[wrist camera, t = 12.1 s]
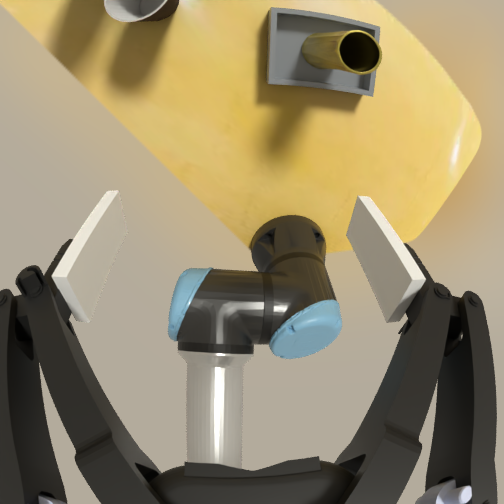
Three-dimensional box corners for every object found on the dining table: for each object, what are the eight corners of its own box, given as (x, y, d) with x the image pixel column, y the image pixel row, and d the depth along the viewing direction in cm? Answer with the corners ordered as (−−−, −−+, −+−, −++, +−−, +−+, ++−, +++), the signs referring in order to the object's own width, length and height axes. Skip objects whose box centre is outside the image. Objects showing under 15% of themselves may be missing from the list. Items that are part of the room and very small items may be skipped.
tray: (363, 92, 37) (372, 96, 34) (266, 81, 36) (268, 84, 33) (370, 27, 29) (380, 26, 26) (268, 10, 28) (271, 7, 25)
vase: (297, 63, 33) (327, 68, 22) (306, 27, 29) (339, 17, 18) (335, 73, 34) (378, 86, 23) (344, 40, 30) (391, 39, 19)
